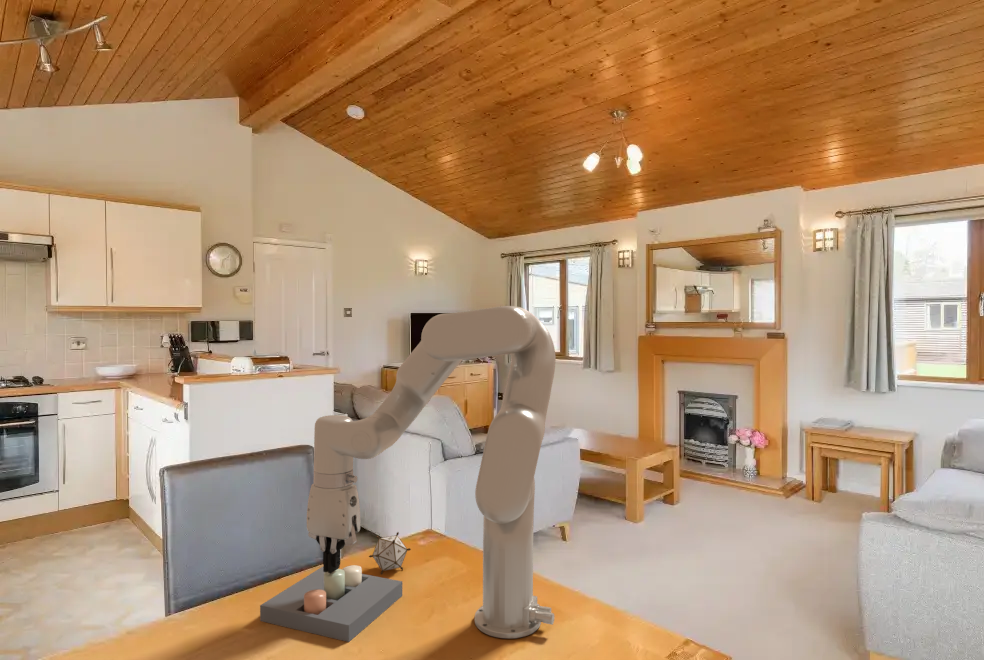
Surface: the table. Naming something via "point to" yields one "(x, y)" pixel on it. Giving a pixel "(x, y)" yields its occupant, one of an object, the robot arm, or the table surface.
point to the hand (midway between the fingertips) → (331, 569)
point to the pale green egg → (334, 584)
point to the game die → (389, 553)
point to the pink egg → (315, 601)
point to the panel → (332, 606)
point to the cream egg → (353, 575)
